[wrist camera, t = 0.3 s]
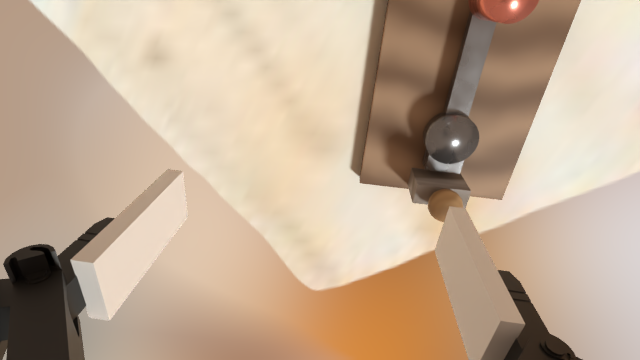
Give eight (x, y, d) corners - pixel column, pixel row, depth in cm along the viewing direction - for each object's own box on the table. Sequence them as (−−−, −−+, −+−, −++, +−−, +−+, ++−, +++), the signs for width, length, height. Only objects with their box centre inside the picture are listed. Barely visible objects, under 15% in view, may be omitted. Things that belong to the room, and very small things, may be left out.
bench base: (397, -60, 33) (412, -79, 25) (588, -43, 32) (669, -57, 24) (359, 177, 45) (360, 218, 37) (497, 193, 45) (530, 238, 36)
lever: (462, -31, 32) (486, -38, 26) (522, -25, 32) (560, -31, 26) (415, 161, 42) (425, 188, 36) (462, 167, 41) (479, 195, 35)
